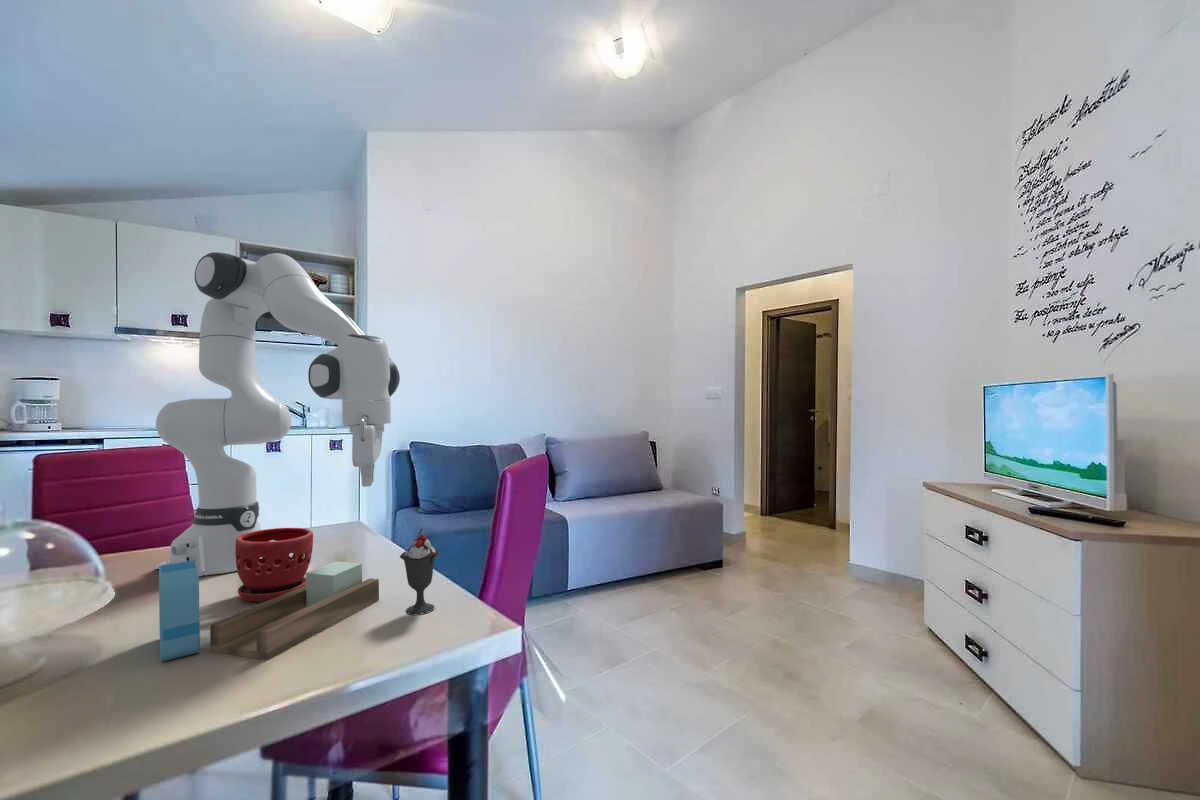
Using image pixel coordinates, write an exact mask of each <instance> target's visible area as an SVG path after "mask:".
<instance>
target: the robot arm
mask: <svg viewBox="0 0 1200 800" xmlns="http://www.w3.org/2000/svg"><path fill="white" fill-rule="evenodd" d="M194 282H195V285H196V287H197V289H198V291H200V292H201V293H202V294H204V295H206V296H207V297H210V298H211V299H209V300H208V301H207V302H206V303H205V305H204V309H203V313H202V316H201V319H200V328H199V341H198V342H199V344H198V345H199V348H198V350H199V351H198V370H199V372H200V374H201V375H202V376H203V378H204V379H207V380H208V381H210V382H212V383H214V384H216V385H219V386H221V387H224V388H226V389H228V390H229V391H230V392H231V395H230V397H227V398H190V399H182V400H177V401H172V402H168V403H167V404H165V405H164V406H162V408H161V409H160V410H159V412H158V414H157V416H156V419H155V428H156V431H157V434H158V435H159V437H160V438H161V439H162V440H163V441H164V442H165V443H166V444H167V445H169V446H171V447H173V448H174V449H176V450H178V451H179V452H180V453H181V454H182V455H184V457H186V459H187V460H188V461H189V462H190V464H191V466H192V467H193V469H194V472H195V477H196V481H197V493H198V507H197V508H195V509H191V510H189V512H191V513H190V514H189V515H190V516H193V519H192V524H191V525H190V526H189V527H188V528H187V529H185V530H184V531H183V532H182V533H181V534H179V536H177V537H176V538H175V539H174V540H172V542H171V544H170V548H169V559H168V560H165V561H163V562H160V563H158V564H156V567H155V568H158V569H159V566H161V565H167V564H173V563H179V562H186V561H192V560H193V561H194V562H195V565H196V568H197V572H198V576H199V577H203V575H204V576H209V575H210V576H211V575H217V574H227V573H232V572H236V571H237V567H236V556H235V546H236V539H237V537H239V536H240V535H242V534H245V533H249V532H254V531H259V530H262V527H261V523H260V522H259V521H258V517H259V516H260V506H259V502H258V501H257V473H256V471H255V469H254V467H253V466H252V465H250V464H249V463H247V462H244V461H242V460H239V459H238V458H237V459H236V458H233V457H231V456H229V455H228V454H227V453H226V452H225V447H227V446H237V445H238V446H239V445H261V444H266V443H267V444H268V443H271V442H275V441H280V440H282V439H283V438H284V437H285V436H286V435H287V434H288V432H289V431H290V428H291V426H292V417H291V416H292V415H291V413H290V410H289V408H288V406H287V405H286V404H285V403H284V402H283V401H281V400H279V399H278V398H276V397H275V396H274V395H273V394H271V393H270V392H269V391H268V390H267V389H266V388H265V386H264V385H263V383H262V381H261V379H260V376H259V373H258V369H257V368H258V367H257V355H256V352H257V351H256V345H257V344H256V342H257V341H256V325H257V324H256V322H257V321H258V319H259V318H260V317H261V316H262V317H263V318H264V319H265V320H268V321H269V320H273V319H274V320H276V321H277V322H278V323H280V324H281V325H282V326H283V327H285V328H287V329H289V330H292V331H295V332H299V333H304V334H308V335H311V336H315V337H318V338H321V339H324V340H326V341H329V342H331V343H334V344H335V345H337V347H336V348H334V349H332V350H330V351H328V352H326V353H322V354H319V355H317V356H316V357H315V358H314V359H313V360H312V362H311V364H310V365H309V368H308V373H307V374H308V383H309V386H310V388H311V390H312V391H313V392H314V393H315V395H317V396H318V397H320V398H322V399H325V400H326V399H328V400H341V401H342V402H341V407H342V410H341V411H342V417H341V418H342V425H346V426H347V425H348V426H349V433H350V434H352V444H351V445H352V451H351V452H352V454H351V455H352V456H351V458H352V461H351V462H352V465H353V467H355V468H357V467H358V468H359V470H360V478H361V486H362V487H365V488H367V487H371V486H372V485H373V483H374V480H375V479H374V477H375V476H374V473H375V463H376V462H377V460H378V458H380V456H381V449H382V441H383V432H385V424H386V425H387V424H391V422H392V421H391V419H392V418H391V397H392V396H393V395H394V394H395V392H396V391H397V389H398V387H399V384H400V378H401V377H400V376H401V375H400V372H399V370H398V366H397V365H396V363H395V361H393V359H392V358H391V357H390V354H389V350H388V346H387V343H386V341H385V340H384V339H383V338H381V337H378V336H374V335H367V334H365V332H363V330H362V329H361V328H360V327H359V325H357V323H355V321H354V320H353V319H352V318H351V317H350V316H349V315H348V314H347V313H345V312H344V311H343V310H342V309H340V308H339V307H338V306H336V305H335V304H334V303H333V302H332V301H330V299H329V298H327V296H325V295H324V294H323V293H322V291H321V290H320V289H319V287H318V286H317V285H316V284H315V281H314V280H313V279H312V277H311V276H310V275H309V274H308V272H307V271H306V270H305V268H303V267H302V266H301V265H300V264H299V262H297V260H295V259H294V258H293V257H291V256H290V255H287V254H284V253H278V252H273V253H269V254H266V255H264V256H262V257H261V258H259V260H257V261H252V260H250V259H246V258H242V257H240V256H237V255H233V254H230V253H226V252H215V251H213V252H209V253H207V254H206V255H205V254H204V256H202V257H201V258H200V259H199V261H198V262H197V264H196V266H195V270H194ZM192 512H193V513H192ZM261 558H263V557H261ZM261 558H259V559H261ZM237 572H238V571H237Z"/></svg>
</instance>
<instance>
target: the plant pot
mask: <svg viewBox="0 0 1200 800" xmlns="http://www.w3.org/2000/svg"><path fill="white" fill-rule="evenodd" d="M313 546H314V531H312V530H310V529H308V528H303V527H301V528H300V527H274V528H267V529H261V530H259V531H254V532H249V533H245V534H242V535H240V536H239V537H237V539H236V546H235V556H236V567H237V575H238V577H239V580H240V582H241V583H242V585H240V586H239V588H238V589H237V593H238V596H240V597H241V598H242V599H244V600H245V601H249V602H257V603H258V602H260V603H261V602H262V603H264V602H266V601H269V600H271V599H274V598H276V597H279V596H281V595H283V594H286V593H288V592H291V591H293V590H295V589H298V588H300V587H303V586H305V585H306V573H307V572H308V569H309V567H310V564H311V559H312V554H313ZM290 554H292V556H290ZM261 557H263V558H261ZM259 558H261V559H259Z"/></svg>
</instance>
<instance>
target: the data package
mask: <svg viewBox="0 0 1200 800" xmlns="http://www.w3.org/2000/svg"><path fill="white" fill-rule="evenodd" d="M199 577H200V576H198V572H197V568H196V565H195V562H194V561H193V560H192V561H186V562H179V563H173V564H167V565H161V566H159V570H158V600H159V602H158V603H159V604H158V606H159V607H158V609H159V614H158V616H159V653H160V655H159V657H160V661H161V662H162V663H163V662H166V661H167V662H168V661H170V660H176V659H178V658H183V657H186V656H191V655H194V654H198V653H200V650H201V649H200V647H201V645H200V643H201V640H200V638H201V637H200V635H201V634H200V631H201V630H200V580H199V579H200V578H199Z"/></svg>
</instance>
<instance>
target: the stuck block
mask: <svg viewBox="0 0 1200 800" xmlns="http://www.w3.org/2000/svg"><path fill="white" fill-rule="evenodd" d="M305 578H306V607H309V606H311V605H314V604H316V603H318V602H320V601H322V600H324V599H327V598H329V597H331V596H333V595H335V594H337V593H339V592H342V591H344V590H346V589H348V588H350V587H352V586H354V585H357V584H359V583H361V582H363V563H357V562H346V561H345V562H344V561H343V562H342V561H333V562H330V563H329V564H325V565H322V566H320V567H317V568H314V569H313V570H310V571H307V572H306V574H305Z"/></svg>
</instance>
